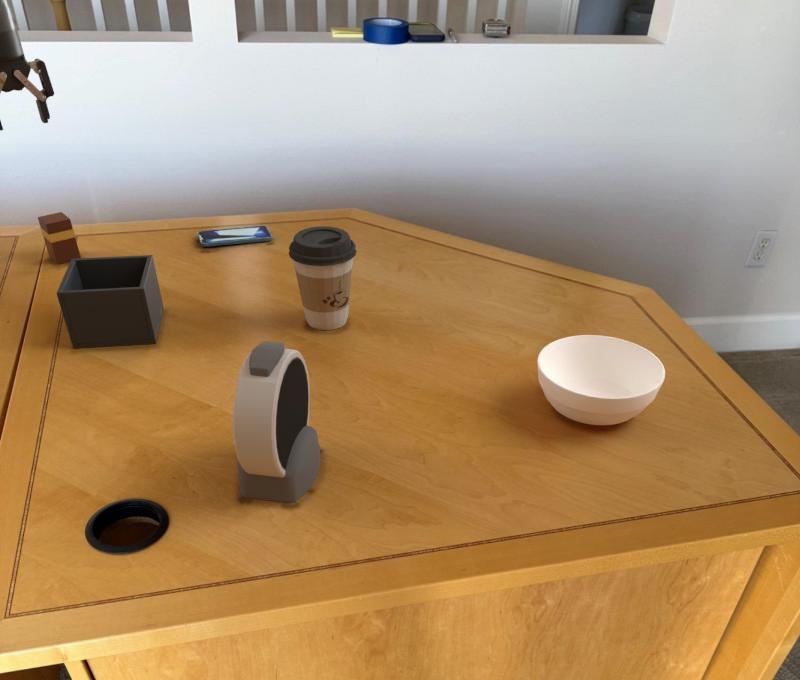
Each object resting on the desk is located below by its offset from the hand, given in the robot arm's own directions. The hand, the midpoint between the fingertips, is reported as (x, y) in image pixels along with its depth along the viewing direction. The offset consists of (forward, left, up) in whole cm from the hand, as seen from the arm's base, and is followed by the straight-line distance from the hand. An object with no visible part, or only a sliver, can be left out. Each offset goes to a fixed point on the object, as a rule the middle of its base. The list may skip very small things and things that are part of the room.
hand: (22, 125), depth 149 cm
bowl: (+93, -77, -22) cm, 122 cm away
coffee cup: (+55, -44, -22) cm, 73 cm away
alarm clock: (+46, -87, -22) cm, 100 cm away
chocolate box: (+4, -10, -22) cm, 24 cm away
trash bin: (+19, -42, -22) cm, 51 cm away
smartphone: (+38, -4, -22) cm, 44 cm away
